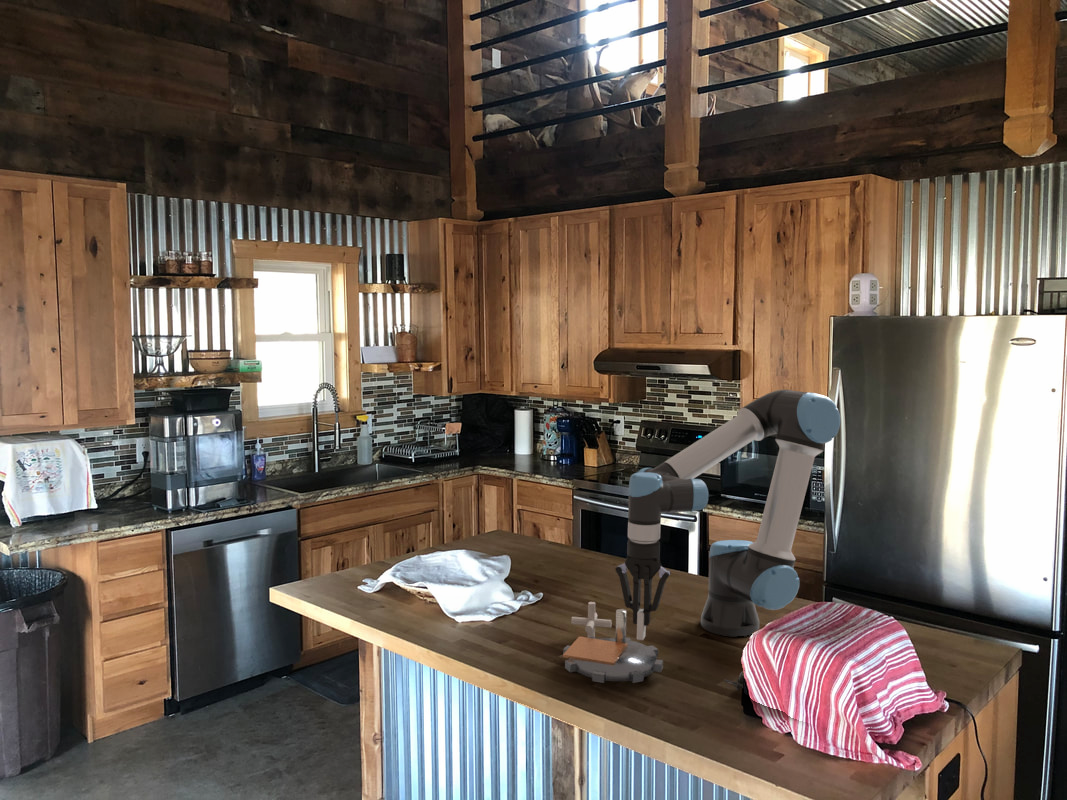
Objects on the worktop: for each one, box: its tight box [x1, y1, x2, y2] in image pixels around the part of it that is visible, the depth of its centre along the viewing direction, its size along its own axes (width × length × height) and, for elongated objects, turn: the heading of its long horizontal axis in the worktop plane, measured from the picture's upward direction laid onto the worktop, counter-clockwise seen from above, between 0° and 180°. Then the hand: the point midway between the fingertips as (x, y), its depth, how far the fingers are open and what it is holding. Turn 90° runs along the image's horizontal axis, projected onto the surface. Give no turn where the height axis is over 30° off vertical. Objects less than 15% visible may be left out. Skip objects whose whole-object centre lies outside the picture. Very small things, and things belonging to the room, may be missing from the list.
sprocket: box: [562, 608, 664, 684], centre depth 196 cm, size 23×23×10 cm
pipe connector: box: [570, 601, 613, 638], centre depth 214 cm, size 10×10×10 cm
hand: (641, 637), depth 200 cm, fingers closed
